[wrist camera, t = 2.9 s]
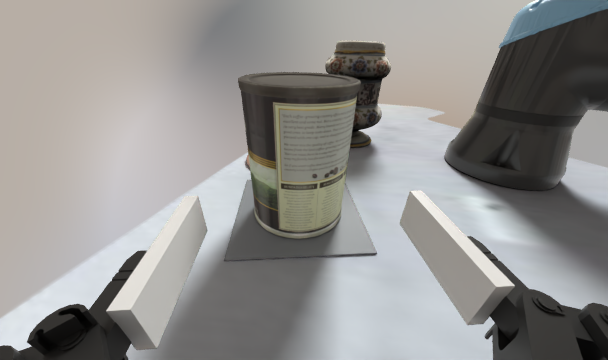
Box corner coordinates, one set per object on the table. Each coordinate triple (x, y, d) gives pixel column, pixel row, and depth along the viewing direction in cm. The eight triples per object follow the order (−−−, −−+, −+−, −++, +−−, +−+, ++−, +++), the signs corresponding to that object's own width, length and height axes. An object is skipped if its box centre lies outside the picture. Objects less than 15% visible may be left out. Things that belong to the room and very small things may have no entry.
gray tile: (342, 178, 33) (342, 177, 32) (376, 253, 21) (377, 251, 20) (247, 180, 32) (247, 179, 31) (224, 260, 19) (223, 259, 19)
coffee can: (235, 224, 23) (208, 79, 16) (278, 179, 32) (274, 70, 24) (329, 252, 20) (348, 89, 13) (349, 194, 29) (368, 75, 21)
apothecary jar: (388, 142, 46) (411, 42, 37) (346, 154, 40) (362, 38, 31) (347, 127, 55) (358, 43, 46) (308, 136, 49) (312, 40, 40)
